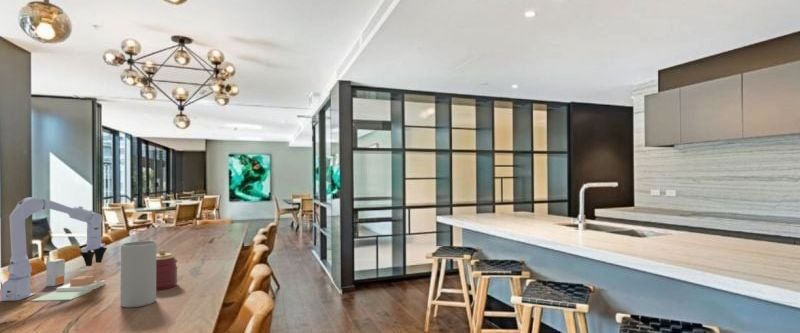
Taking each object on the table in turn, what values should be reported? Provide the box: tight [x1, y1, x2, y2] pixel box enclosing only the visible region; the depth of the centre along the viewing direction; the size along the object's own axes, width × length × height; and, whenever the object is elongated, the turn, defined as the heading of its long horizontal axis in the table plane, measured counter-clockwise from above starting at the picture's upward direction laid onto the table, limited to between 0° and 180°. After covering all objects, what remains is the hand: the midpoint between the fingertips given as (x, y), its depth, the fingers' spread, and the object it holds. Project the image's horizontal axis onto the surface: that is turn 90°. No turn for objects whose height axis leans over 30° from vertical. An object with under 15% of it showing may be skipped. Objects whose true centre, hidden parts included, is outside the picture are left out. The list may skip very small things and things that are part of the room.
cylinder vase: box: [119, 240, 157, 309], centre depth 169 cm, size 12×12×25 cm
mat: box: [30, 290, 92, 302], centre depth 180 cm, size 13×16×1 cm
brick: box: [69, 275, 95, 286], centre depth 193 cm, size 6×7×3 cm
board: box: [55, 280, 106, 292], centre depth 193 cm, size 12×14×2 cm
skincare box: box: [45, 258, 66, 287], centre depth 200 cm, size 6×4×12 cm
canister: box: [156, 249, 179, 291], centre depth 195 cm, size 13×13×18 cm
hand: (93, 264), depth 202 cm, fingers open, 7 cm apart
